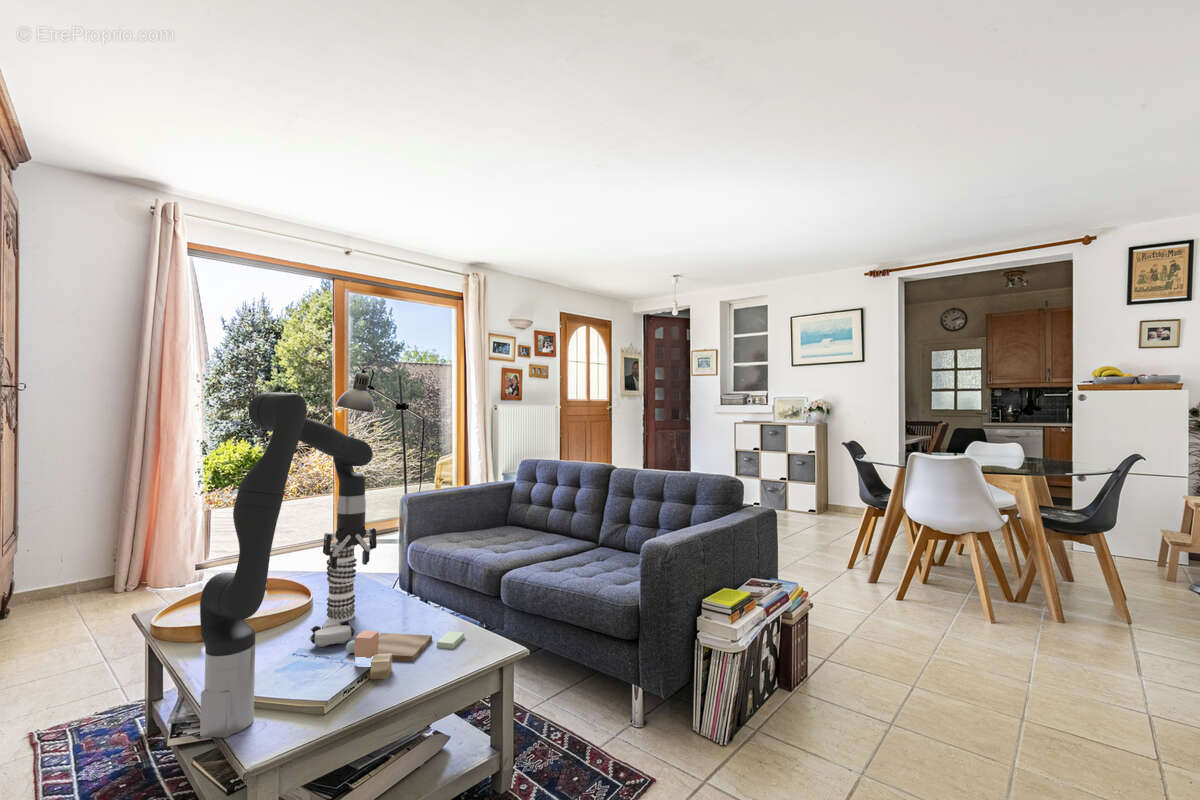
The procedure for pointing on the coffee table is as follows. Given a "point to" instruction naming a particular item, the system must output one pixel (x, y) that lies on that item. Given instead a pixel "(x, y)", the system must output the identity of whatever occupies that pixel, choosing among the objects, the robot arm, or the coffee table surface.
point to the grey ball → (350, 646)
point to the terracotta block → (366, 644)
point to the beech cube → (381, 666)
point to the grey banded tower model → (341, 586)
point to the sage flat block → (450, 639)
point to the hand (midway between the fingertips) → (349, 566)
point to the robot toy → (331, 633)
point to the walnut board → (402, 645)
